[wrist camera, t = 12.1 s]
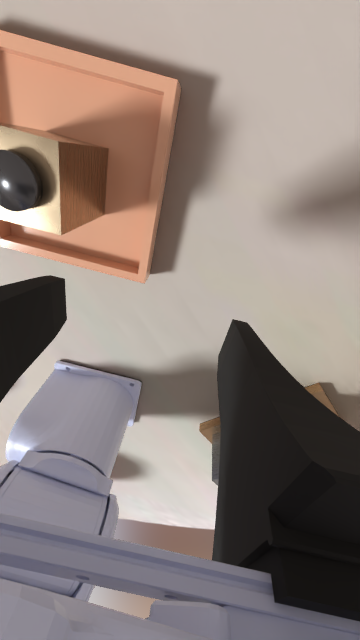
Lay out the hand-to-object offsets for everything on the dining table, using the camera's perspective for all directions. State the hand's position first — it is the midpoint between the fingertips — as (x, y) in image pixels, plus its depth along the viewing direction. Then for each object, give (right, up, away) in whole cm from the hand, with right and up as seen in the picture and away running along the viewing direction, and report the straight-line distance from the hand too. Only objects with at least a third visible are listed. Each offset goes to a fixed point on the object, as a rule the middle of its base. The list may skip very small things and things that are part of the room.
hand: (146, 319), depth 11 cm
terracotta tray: (-5, +10, +6) cm, 13 cm away
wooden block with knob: (-5, +10, +6) cm, 12 cm away
